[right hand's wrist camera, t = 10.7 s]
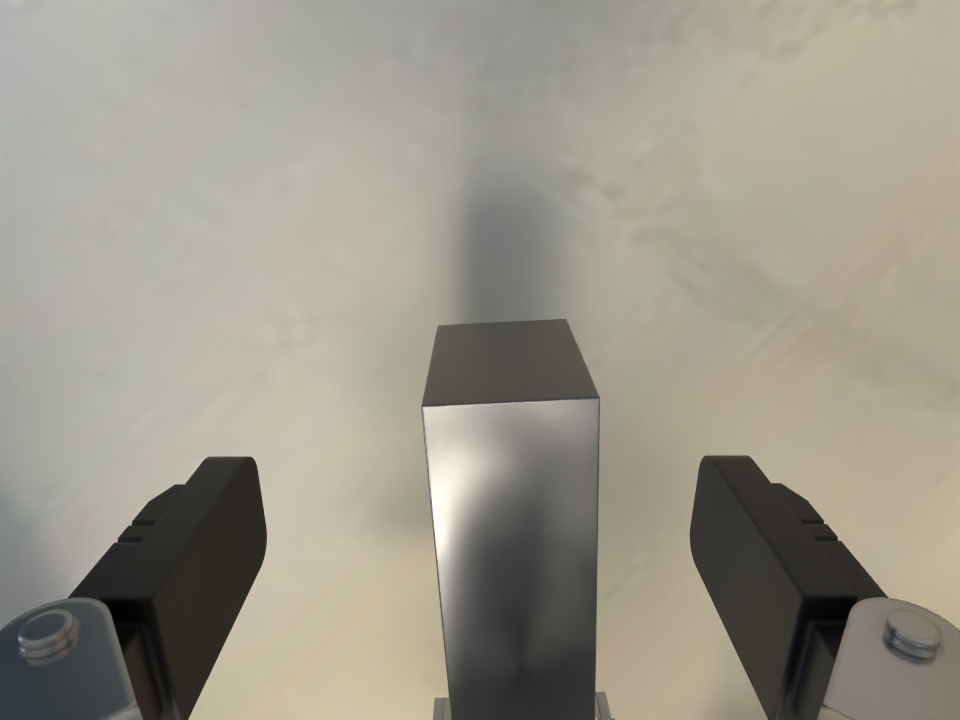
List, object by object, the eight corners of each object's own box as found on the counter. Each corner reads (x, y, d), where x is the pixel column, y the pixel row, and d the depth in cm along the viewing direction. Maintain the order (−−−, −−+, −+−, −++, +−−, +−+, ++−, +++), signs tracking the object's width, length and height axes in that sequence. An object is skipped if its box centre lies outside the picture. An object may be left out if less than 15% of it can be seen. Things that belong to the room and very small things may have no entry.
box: (437, 325, 30) (421, 406, 21) (566, 318, 29) (600, 397, 21) (467, 690, 38) (463, 850, 30) (568, 686, 38) (593, 846, 29)
